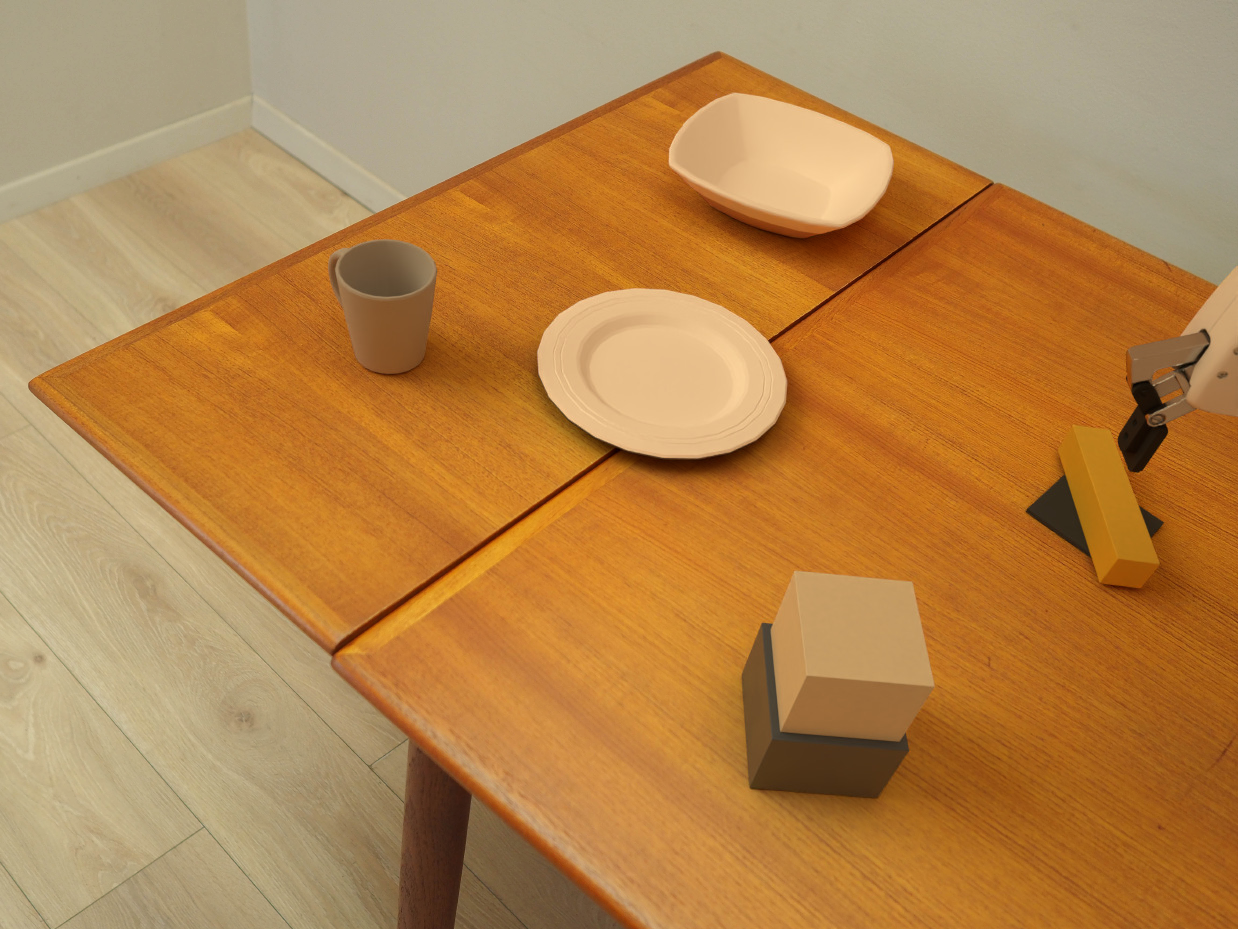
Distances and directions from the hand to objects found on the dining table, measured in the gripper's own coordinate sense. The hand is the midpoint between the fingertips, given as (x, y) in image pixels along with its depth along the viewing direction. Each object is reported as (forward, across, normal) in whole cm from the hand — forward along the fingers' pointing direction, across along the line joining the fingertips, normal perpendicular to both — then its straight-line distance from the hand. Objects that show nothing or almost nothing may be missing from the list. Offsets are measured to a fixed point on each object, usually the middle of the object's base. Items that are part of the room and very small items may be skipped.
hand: (1198, 467), depth 70 cm
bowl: (+12, +25, -46) cm, 54 cm away
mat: (+12, 0, -6) cm, 14 cm away
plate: (+12, +35, -15) cm, 40 cm away
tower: (+13, +24, +16) cm, 32 cm away
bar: (+12, 0, -6) cm, 13 cm away
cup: (+12, +58, -14) cm, 61 cm away
